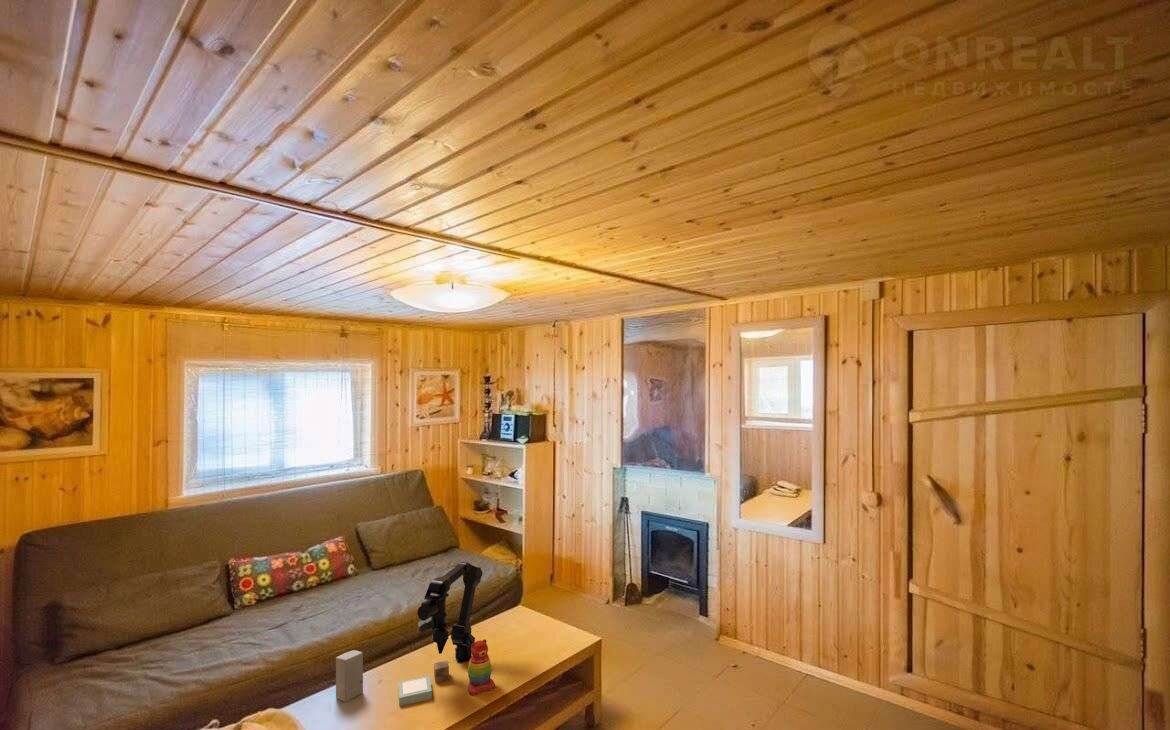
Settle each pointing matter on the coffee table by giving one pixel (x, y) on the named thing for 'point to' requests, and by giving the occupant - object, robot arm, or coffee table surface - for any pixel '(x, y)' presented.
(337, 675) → the skincare box
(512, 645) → the coffee table surface
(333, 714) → the coffee table surface
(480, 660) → the stacking bear
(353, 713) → the coffee table surface
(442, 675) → the walnut cube
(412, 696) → the base slab
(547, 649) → the coffee table surface
